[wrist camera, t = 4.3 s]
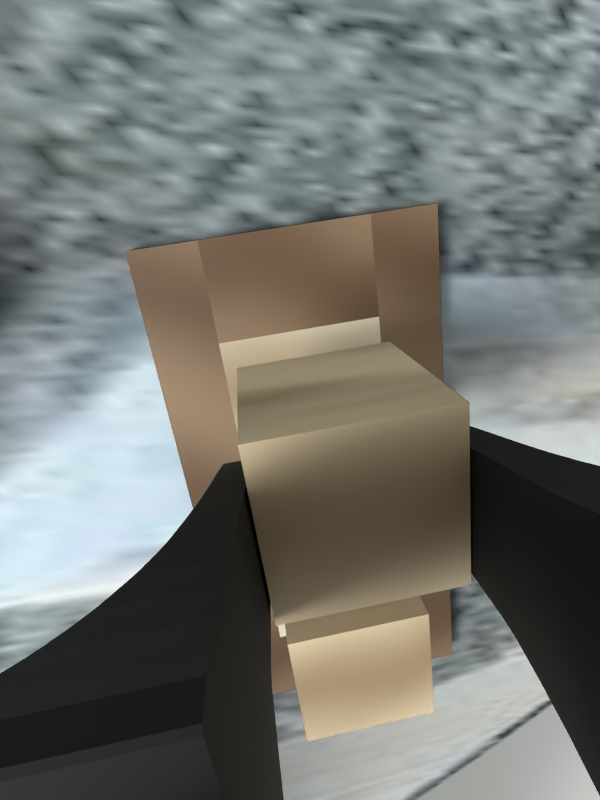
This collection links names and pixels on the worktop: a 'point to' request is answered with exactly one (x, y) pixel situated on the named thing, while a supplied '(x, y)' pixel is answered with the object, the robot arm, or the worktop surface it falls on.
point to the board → (285, 330)
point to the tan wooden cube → (355, 479)
